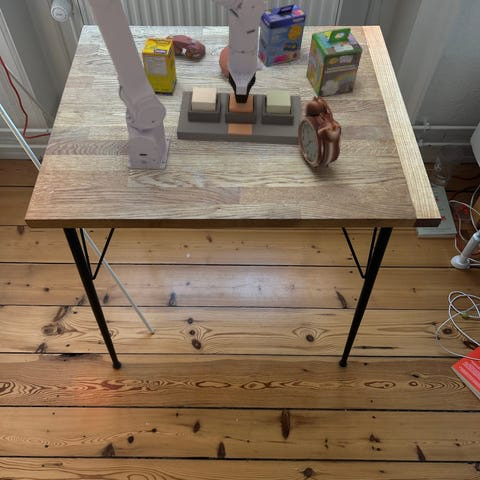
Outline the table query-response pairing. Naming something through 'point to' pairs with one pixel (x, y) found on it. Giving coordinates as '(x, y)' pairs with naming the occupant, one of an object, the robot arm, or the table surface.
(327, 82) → the chalk box
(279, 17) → the blue cardboard box
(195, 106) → the cream button
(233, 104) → the terracotta button
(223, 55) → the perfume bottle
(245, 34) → the robot arm
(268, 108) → the sage button
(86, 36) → the table surface
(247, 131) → the control board
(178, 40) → the red toy car
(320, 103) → the alarm clock
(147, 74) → the supplement box
